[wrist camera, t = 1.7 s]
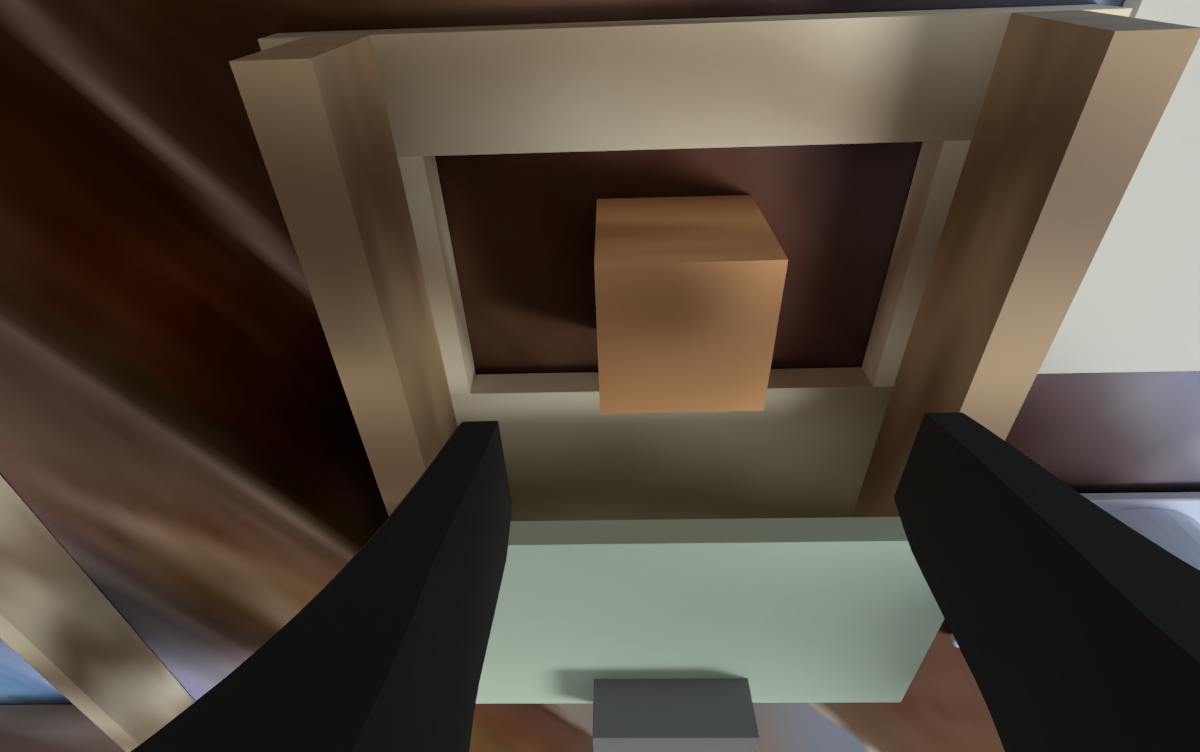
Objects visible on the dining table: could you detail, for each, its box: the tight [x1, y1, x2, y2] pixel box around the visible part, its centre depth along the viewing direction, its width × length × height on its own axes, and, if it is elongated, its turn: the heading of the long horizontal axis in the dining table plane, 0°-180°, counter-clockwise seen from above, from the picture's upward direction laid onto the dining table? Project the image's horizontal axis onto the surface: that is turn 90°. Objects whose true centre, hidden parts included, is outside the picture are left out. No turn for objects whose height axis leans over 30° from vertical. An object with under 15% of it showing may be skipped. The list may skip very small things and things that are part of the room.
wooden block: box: [594, 195, 788, 414], centre depth 15 cm, size 4×4×4 cm
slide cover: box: [476, 517, 945, 752], centre depth 18 cm, size 8×16×3 cm, turn 92°
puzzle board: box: [229, 4, 1200, 521], centre depth 17 cm, size 20×18×4 cm
